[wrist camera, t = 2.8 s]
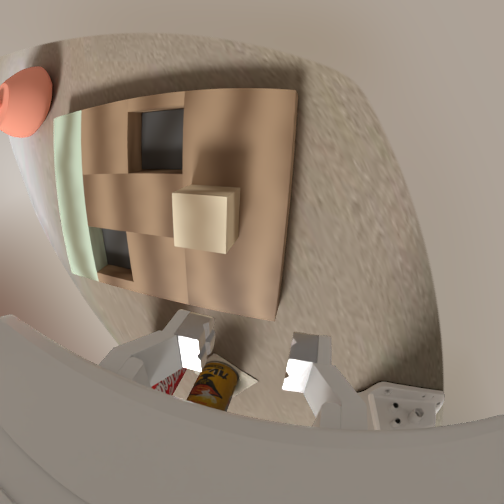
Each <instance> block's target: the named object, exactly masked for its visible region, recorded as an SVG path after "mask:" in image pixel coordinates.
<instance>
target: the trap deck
mask: <svg viewBox="0 0 504 504" xmlns="http://www.w3.org/2000/svg"><path fill="white" fill-rule="evenodd" d="M297 107H298V94H297V91H296V90H288V89H267V88H225V89H205V90H191V91H181V92H172V93H163V94H156V95H149V96H143V97H137V98H132V99H126V100H121V101H117V102H112V103H107V104H103V105H99V106H95V107H91V108H87V109H84V110H80V111H76V112H73V113H70V114H66V115H63V116H60V117H57V118H54V163H55V177H56V187H57V196H58V204H59V211H60V218H61V224H62V230H63V235H64V240H65V245H66V250H67V255H68V259H69V263H70V267H71V271H72V273H73V274H76V275H79V276H82V277H86V278H89V279H92V280H96V281H99V282H102V283H106V284H109V285H113V286H117V287H120V288H124V289H127V290H131V291H135V292H139V293H143V294H147V295H150V296H154V297H158V298H163V299H167V300H171V301H175V302H179V303H184V304H188V305H193V306H197V307H202V308H206V309H211V310H216V311H221V312H226V313H231V314H236V315H241V316H247V317H252V318H258V319H263V320H269V321H275V318H276V314H277V310H278V306H279V298H280V290H281V282H282V273H283V265H284V256H285V247H286V238H287V228H288V218H289V208H290V198H291V187H292V175H293V163H294V151H295V137H296V122H297ZM172 109H178V110H172ZM161 110H166V111H161ZM152 111H156V112H152ZM144 112H148V113H144ZM163 169H182V170H163ZM191 184H192V185H208V186H222V187H235V188H240V208H239V235H238V239H237V240H236V242H235V243H234V244H233V245H232V247H231V248H230V249H229V251H228V252H227V253H226V254H222V253H216V252H209V251H202V250H196V249H189V248H182V247H176V246H174V230H173V209H172V193H173V192H175V191H177V190H180V189H182V188H184V187H187V186H189V185H191Z"/></svg>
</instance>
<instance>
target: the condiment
mask: <svg viewBox="0 0 504 504" xmlns="http://www.w3.org/2000/svg"><path fill="white" fill-rule="evenodd" d="M194 373H196V374H198V375H199V376H198V378H197V380H196V382H195V384H194V386H193V388H192V390H191V392H190V394H189V396H188V398H187V401H190V402H193V403H197V404H200V405H204V406H207V407H211V408H214V409H218V410H222V411H226V412H227V409H228V406H229V404H230V401H231V398H232V397H235V396H237V395H238V394H239V393H241V392H242V391H244V390H245V389H247V388H248V387H250V386H252V385H253V384H255V383H256V382H258V381H257V380H255V379H253V378H252V377H251V376H248V375H247V374H246V373H244V372H242V371H241V370H239V369H238V368H237V367H235V366H234V365H232V364H231V363H229V362H228V361H226V360H225V359H223V358H221V357H220V356H219V355H217V354H215V353H213V354H212V355H211V356H210V357H209V358H208V359H207V362H206V364H205V366H204V368H203V369H202V371H197V370H195V371H194ZM240 379H241V380H240Z"/></svg>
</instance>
